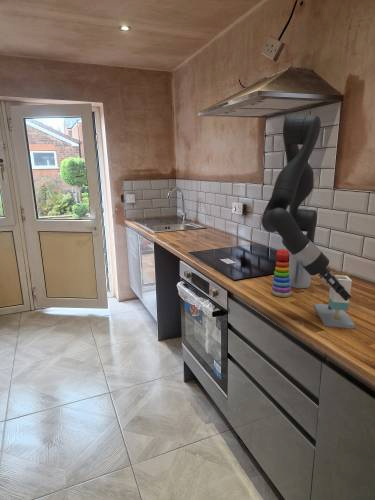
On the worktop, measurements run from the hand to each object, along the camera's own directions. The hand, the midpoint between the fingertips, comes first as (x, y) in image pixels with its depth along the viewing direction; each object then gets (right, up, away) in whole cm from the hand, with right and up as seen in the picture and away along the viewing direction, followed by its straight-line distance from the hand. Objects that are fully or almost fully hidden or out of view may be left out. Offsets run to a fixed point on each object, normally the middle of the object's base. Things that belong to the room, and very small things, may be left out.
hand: (345, 295), depth 104 cm
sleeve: (-2, -4, +1) cm, 5 cm away
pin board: (-1, -8, +6) cm, 10 cm away
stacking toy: (-13, -4, +27) cm, 30 cm away
